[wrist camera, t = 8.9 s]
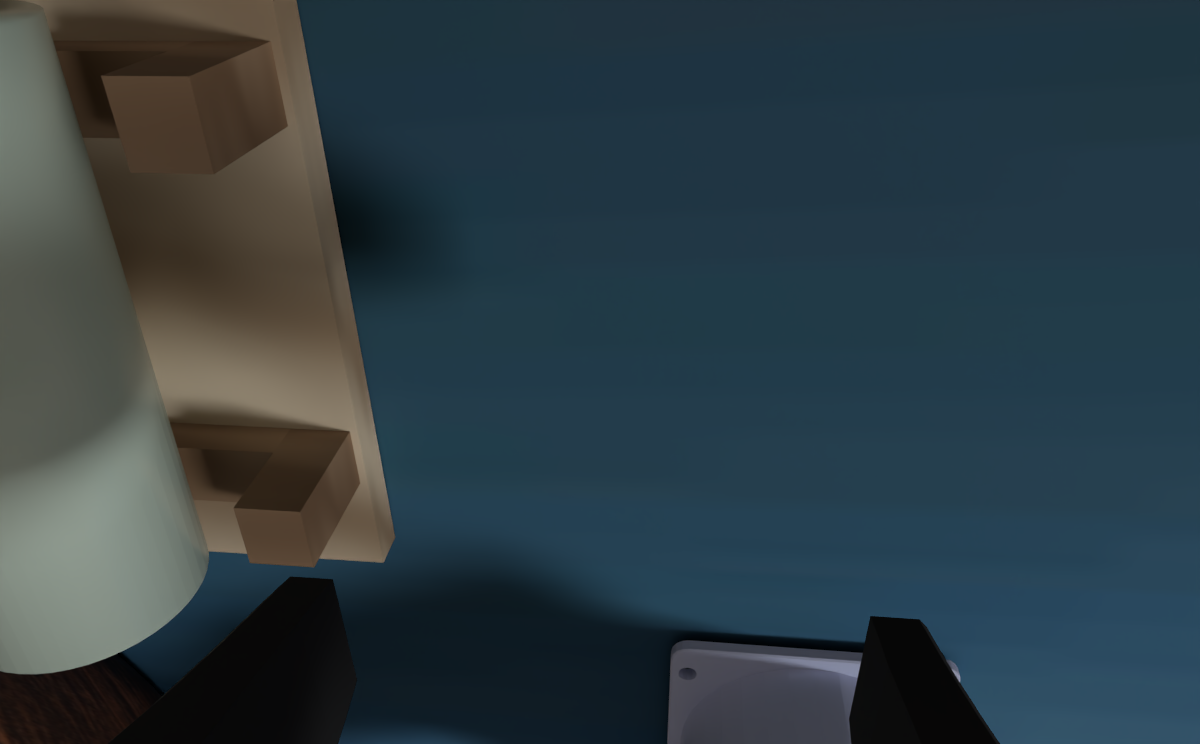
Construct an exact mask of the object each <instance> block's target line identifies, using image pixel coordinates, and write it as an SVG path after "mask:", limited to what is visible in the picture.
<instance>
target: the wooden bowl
mask: <svg viewBox="0 0 1200 744" xmlns="http://www.w3.org/2000/svg"><path fill="white" fill-rule="evenodd" d="M161 697H162V696H161V695H160V694H159V693H158V692H157V691H156V690H155V689H154V687H153V686H152V685H151V684H150V683H149V682H148V681H147V680H145V679H144V678H143V677H142V676H141V675H140V674H139V673H138V672H137V671H136V670H135V669H134V668H133V667H131V666H130V665H129V664H128V663H127V662H125V661H124V660H123V659H122V658H121V657H119V656H118V655H117V654H115V655H113V656H110V657H108V658H106V659H103V660H100V661H97V662H95V663H92V664H89V665H85V666H82V667H78V668H74V669H70V670H65V671H59V672H54V673H44V674H15V673H7V672H2V671H0V744H108V743H109V742H110V741H111V740H112V739H114V738H115V737H116V736H117V735H118V734H119V733H121V732H122V731H123V730H124V729H125V728H126V727H128V726H129V725H130V724H131V723H132V722H134V721H135V720H136V719H137V718H138V717H139V716H141V715H142V714H143V713H144V712H145V711H146V710H147V709H149V708H150V707H151V706H152V705H153V704H154V703H155V702H156V701H158V700H159V699H160V698H161Z"/></svg>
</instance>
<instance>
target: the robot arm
mask: <svg viewBox="0 0 1200 744" xmlns="http://www.w3.org/2000/svg"><path fill="white" fill-rule="evenodd" d="M685 668H691V669H685ZM356 682H357V678H356V673H355V669H354V665H353V661H352V657H351V653H350V649H349V645H348V640H347V636H346V632H345V628H344V624H343V620H342V616H341V611H340V607H339V603H338V599H337V595H336V591H335V587H334V583H333V579H319V578H304V577H289V578H288V579H287V580H286V581H285V582H284V583H283V584H282V585H281V586H280V587H278V588H277V589H276V590H275V591H274V592H273V593H272V594H271V595H270V596H269V597H268V598H267V599H266V600H264V601H263V602H262V603H261V604H260V605H259V606H258V607H257V608H256V609H255V610H254V611H253V612H252V613H251V614H250V615H249V616H248V617H247V618H246V619H245V620H244V621H242V622H241V623H240V624H239V625H238V626H237V627H236V628H235V629H234V630H233V631H232V632H231V633H230V634H229V635H228V636H227V637H226V638H225V639H224V640H223V641H221V642H220V643H219V644H218V645H217V646H216V647H215V648H214V649H213V650H212V651H211V652H210V653H209V654H208V655H207V656H206V657H205V658H203V659H202V660H201V661H200V662H199V663H198V664H197V665H196V666H195V667H194V668H193V669H191V670H190V671H189V672H188V673H187V674H186V675H185V676H184V677H183V678H182V679H181V680H179V681H178V682H177V683H176V684H175V685H174V686H173V687H172V688H171V689H170V690H169V691H167V692H166V693H165V694H164V695H163V696H162V697H161V698H160V699H159V700H158V701H156V702H155V703H154V704H153V705H152V706H151V707H150V708H149V709H147V710H146V711H145V712H144V713H143V714H142V715H141V716H139V717H138V718H137V719H136V720H135V721H134V722H132V723H131V724H130V725H129V726H128V727H126V728H125V729H124V730H123V731H122V732H121V733H119V734H118V735H117V736H116V737H115V738H114V739H112V740H111V741H110V742H109V743H108V744H338V742H339V738H340V735H341V732H342V729H343V726H344V723H345V720H346V716H347V713H348V709H349V706H350V702H351V699H352V695H353V692H354V689H355V685H356ZM667 744H1000V743H999V742H998V740H997V739H996V737H995V736H994V734H993V733H992V731H991V730H990V728H989V727H988V725H987V724H986V722H985V721H984V719H983V718H982V716H981V715H980V713H979V712H978V710H977V709H976V707H975V705H974V704H973V702H972V701H971V699H970V698H969V696H968V695H967V693H966V691H965V690H964V688H963V687H962V685H961V684H960V674H959V671H958V668H957V666H956V665H955V663H953V662H951V661H950V660H946V659H945V658H944V656H943V654H942V653H941V651H940V649H939V648H938V646H937V644H936V642H935V641H934V639H933V637H932V636H931V634H930V632H929V630H928V629H927V627H926V626H925V625H924V624H923V623H922V622H921V621H920V620H919V619H904V618H890V617H875V616H870V621H869V626H868V631H867V635H866V640H865V645H864V650H863V653H858V652H844V651H830V650H816V649H802V648H789V647H775V646H761V645H747V644H733V643H720V642H706V641H692V640H686V641H681V642H678V643H676V644H675V645H674V646H673V647H672V650H671V664H670V689H669V713H668V738H667Z"/></svg>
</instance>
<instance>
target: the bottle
mask: <svg viewBox="0 0 1200 744" xmlns="http://www.w3.org/2000/svg"><path fill="white" fill-rule="evenodd" d="M208 562H209V551H208V547H207V543H206V539H205V536H204V533H203V530H202V526H201V523H200V520H199V517H198V513H197V510H196V507H195V503H194V500H193V497H192V494H191V490H190V487H189V484H188V481H187V477H186V474H185V471H184V467H183V464H182V461H181V458H180V454H179V451H178V448H177V445H176V441H175V438H174V435H173V431H172V428H171V425H170V422H169V418H168V415H167V412H166V409H165V405H164V402H163V399H162V395H161V392H160V389H159V386H158V382H157V379H156V376H155V372H154V369H153V366H152V363H151V359H150V356H149V353H148V350H147V346H146V343H145V340H144V336H143V333H142V330H141V327H140V323H139V320H138V317H137V314H136V310H135V307H134V304H133V300H132V297H131V294H130V291H129V287H128V284H127V281H126V278H125V274H124V271H123V268H122V264H121V261H120V258H119V255H118V251H117V248H116V245H115V242H114V238H113V235H112V232H111V228H110V225H109V222H108V219H107V215H106V212H105V209H104V205H103V202H102V199H101V196H100V192H99V189H98V186H97V183H96V179H95V176H94V173H93V169H92V166H91V163H90V160H89V156H88V153H87V150H86V147H85V143H84V140H83V137H82V133H81V130H80V127H79V124H78V120H77V117H76V114H75V111H74V107H73V104H72V101H71V97H70V94H69V91H68V88H67V84H66V81H65V78H64V75H63V71H62V68H61V65H60V61H59V58H58V55H57V52H56V48H55V45H54V42H53V38H52V35H51V32H50V29H49V25H48V22H47V19H46V16H45V12H44V9H43V8H42V7H41V6H40V5H37V4H35V3H30V2H26V1H19V0H0V671H2V672H7V673H15V674H44V673H54V672H59V671H65V670H70V669H74V668H78V667H82V666H85V665H89V664H92V663H95V662H97V661H100V660H103V659H106V658H108V657H110V656H113V655H115V654H117V653H120V652H122V651H124V650H126V649H128V648H130V647H132V646H133V645H135V644H137V643H139V642H141V641H142V640H144V639H145V638H147V637H149V636H150V635H152V634H153V633H155V632H156V631H158V630H159V629H160V628H162V627H163V626H164V625H166V624H167V623H168V622H169V621H170V620H172V619H173V618H174V617H175V616H176V615H177V614H178V613H179V612H180V611H181V610H182V609H183V608H184V607H185V606H186V605H187V604H188V603H189V602H190V600H191V599H192V597H193V596H194V595H195V593H196V592H197V591H198V589H199V587H200V585H201V583H202V582H203V580H204V577H205V574H206V572H207V568H208Z"/></svg>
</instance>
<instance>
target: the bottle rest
mask: <svg viewBox="0 0 1200 744" xmlns="http://www.w3.org/2000/svg"><path fill="white" fill-rule="evenodd" d="M19 1H26V2H30V3H35V4H37V5H40V6H41V7H42V8H43V9H44V12H45V16H46V19H47V22H48V25H49V29H50V32H51V35H52V38H53V42H54V45H55V48H56V52H57V55H58V58H59V61H60V65H61V68H62V71H63V75H64V78H65V81H66V84H67V88H68V91H69V94H70V97H71V101H72V104H73V107H74V111H75V114H76V117H77V120H78V124H79V127H80V130H81V133H82V137H83V140H84V143H85V147H86V150H87V153H88V156H89V160H90V163H91V166H92V169H93V173H94V176H95V179H96V183H97V186H98V189H99V192H100V196H101V199H102V202H103V205H104V209H105V212H106V215H107V219H108V222H109V225H110V228H111V232H112V235H113V238H114V242H115V245H116V248H117V251H118V255H119V258H120V261H121V264H122V268H123V271H124V274H125V278H126V281H127V284H128V287H129V291H130V294H131V297H132V300H133V304H134V307H135V310H136V314H137V317H138V320H139V323H140V327H141V330H142V333H143V336H144V340H145V343H146V346H147V350H148V353H149V356H150V359H151V363H152V366H153V369H154V372H155V376H156V379H157V382H158V386H159V389H160V392H161V395H162V399H163V402H164V405H165V409H166V412H167V415H168V418H169V422H170V425H171V428H172V431H173V435H174V438H175V441H176V445H177V448H178V451H179V454H180V458H181V461H182V464H183V467H184V471H185V474H186V477H187V481H188V484H189V487H190V490H191V494H192V497H193V500H194V503H195V507H196V510H197V513H198V517H199V520H200V523H201V526H202V530H203V533H204V536H205V539H206V543H207V547H208V551H215V552H230V553H245V554H248V558H249V561H250V563H258V564H273V565H288V566H303V567H315V565H316V563H317V561H318V559H319V558H321V559H336V560H351V561H367V562H382V563H384V561H385V558H386V556H387V554H388V552H389V550H390V547H391V545H392V543H393V541H394V539H395V534H394V529H393V523H392V518H391V513H390V507H389V502H388V496H387V491H386V485H385V480H384V475H383V469H382V464H381V458H380V453H379V447H378V442H377V436H376V431H375V426H374V420H373V415H372V409H371V404H370V398H369V393H368V388H367V382H366V377H365V371H364V366H363V360H362V355H361V349H360V344H359V339H358V333H357V328H356V322H355V317H354V311H353V306H352V300H351V295H350V290H349V284H348V279H347V273H346V268H345V262H344V257H343V252H342V246H341V241H340V235H339V230H338V224H337V219H336V213H335V208H334V203H333V197H332V192H331V186H330V181H329V175H328V170H327V165H326V159H325V154H324V148H323V143H322V137H321V132H320V126H319V121H318V116H317V110H316V105H315V99H314V94H313V88H312V83H311V78H310V72H309V67H308V61H307V56H306V50H305V45H304V39H303V34H302V29H301V23H300V18H299V12H298V7H297V1H296V0H19Z"/></svg>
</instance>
